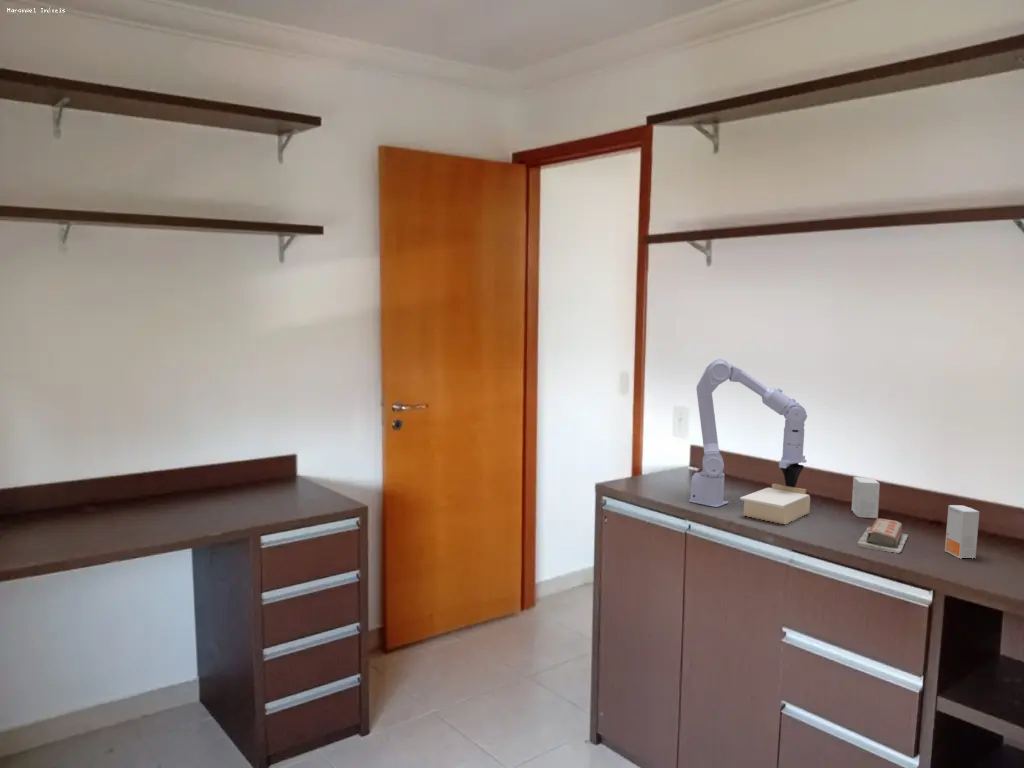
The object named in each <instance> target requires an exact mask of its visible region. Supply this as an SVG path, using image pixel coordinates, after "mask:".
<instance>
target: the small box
mask: <svg viewBox="0 0 1024 768" xmlns="http://www.w3.org/2000/svg"><path fill="white" fill-rule="evenodd" d="M880 485H881V484H880V482H879V481H877V480H876V479H875V478H874V477H861V476H853V477H852V492H851V493H852V494H851V495H852V496H851V497H852V499H851V512H852V511H853V512H852V513H853V515H855V516H856V517H858V518H863V519H864V518H865V519H866V518H867V519H877V518H879V507H880V506H879V502H880V487H881V486H880Z"/></svg>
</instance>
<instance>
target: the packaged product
mask: <svg viewBox="0 0 1024 768" xmlns="http://www.w3.org/2000/svg"><path fill="white" fill-rule="evenodd" d="M902 529H903V524H902V523H901V522H899V521H897V520H892V519H887V518H879V517H878V518H875V520H874V522H873V524H872V525H871V526H867V528H866V529H865V531H864V533H863V534H862V535H861V537H860V538H859V540H858V541H857V547H858V548H861V547H862V548H863V549H868V550H873V549H874V551H878V550H880V551H879V552H884V551H887V552H886V553H891V552H894V553H893V554H896V553H900V552H902V551H903V548H904V544H906V541H907V539H908V537H909V534H907V533H902ZM900 554H901V553H900Z"/></svg>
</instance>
